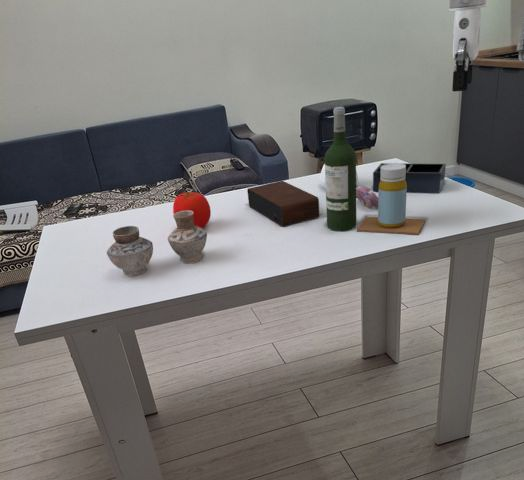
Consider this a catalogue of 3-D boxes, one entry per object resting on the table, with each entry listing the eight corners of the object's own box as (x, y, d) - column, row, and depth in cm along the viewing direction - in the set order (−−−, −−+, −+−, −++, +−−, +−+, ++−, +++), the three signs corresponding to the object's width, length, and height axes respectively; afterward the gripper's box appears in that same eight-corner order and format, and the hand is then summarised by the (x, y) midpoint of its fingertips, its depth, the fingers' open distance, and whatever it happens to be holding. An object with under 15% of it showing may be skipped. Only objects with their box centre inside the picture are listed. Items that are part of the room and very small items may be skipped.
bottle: (388, 230, 138) (389, 171, 130) (372, 223, 144) (373, 166, 136) (410, 224, 140) (413, 166, 132) (394, 217, 146) (396, 161, 138)
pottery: (215, 262, 134) (208, 215, 127) (115, 285, 128) (102, 237, 122) (204, 247, 143) (197, 203, 137) (111, 268, 138) (98, 223, 131)
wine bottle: (323, 230, 145) (318, 111, 129) (332, 220, 151) (329, 105, 134) (351, 232, 142) (349, 110, 125) (360, 222, 147) (359, 104, 131)
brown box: (319, 217, 153) (318, 197, 150) (282, 227, 150) (281, 206, 147) (282, 198, 172) (281, 180, 169) (249, 206, 168) (247, 187, 165)
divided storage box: (444, 183, 169) (445, 163, 166) (439, 193, 161) (440, 173, 158) (380, 181, 177) (381, 163, 173) (372, 191, 169) (373, 172, 166)
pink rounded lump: (357, 207, 162) (347, 189, 158) (369, 198, 162) (360, 179, 158) (374, 216, 154) (365, 197, 150) (387, 206, 154) (378, 186, 150)
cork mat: (425, 221, 143) (425, 219, 143) (418, 235, 136) (418, 232, 135) (366, 218, 149) (366, 216, 149) (356, 231, 142) (356, 229, 142)
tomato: (190, 220, 162) (184, 185, 157) (219, 224, 158) (213, 187, 152) (169, 233, 155) (161, 196, 149) (198, 237, 150) (192, 199, 144)
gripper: (483, 0, 109) (475, 92, 118) (489, -3, 122) (482, 80, 131) (444, 5, 112) (440, 95, 121) (454, 1, 125) (449, 82, 134)
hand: (462, 87), depth 126 cm, fingers open, 9 cm apart
